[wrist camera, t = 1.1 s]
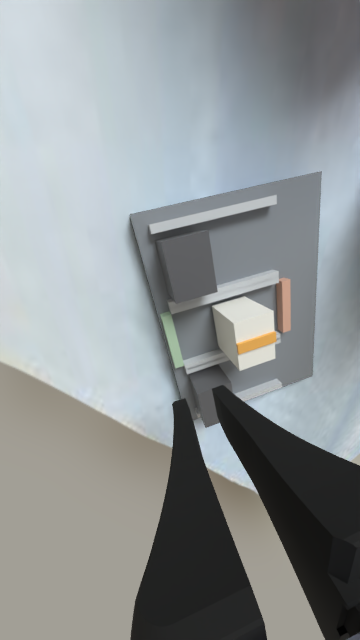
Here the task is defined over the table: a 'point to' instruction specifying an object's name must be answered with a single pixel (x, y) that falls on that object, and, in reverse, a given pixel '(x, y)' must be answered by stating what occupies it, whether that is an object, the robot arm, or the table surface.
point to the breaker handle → (245, 331)
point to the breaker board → (234, 282)
